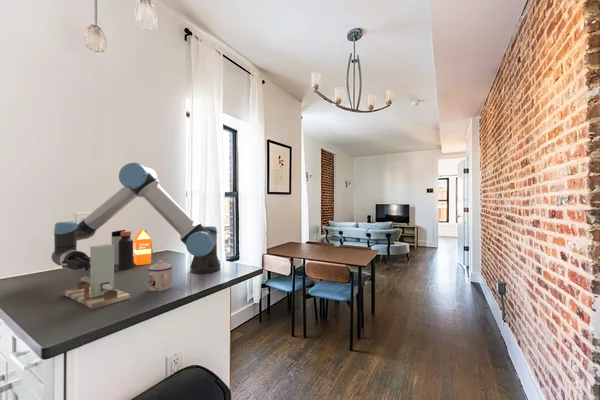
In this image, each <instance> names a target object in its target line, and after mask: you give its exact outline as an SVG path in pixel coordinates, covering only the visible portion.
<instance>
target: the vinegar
mask: <svg viewBox="0 0 600 400" xmlns="http://www.w3.org/2000/svg"><path fill="white" fill-rule="evenodd" d="M120 235H121V239H120V240H119V242H118V251H119V266H118V270H120V271H121V270H122V271H123V270H124V271H126V270H130V269H133V268H134V239H132V238H131V237H132V231H131V230H125V231H123V232H120Z"/></svg>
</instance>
